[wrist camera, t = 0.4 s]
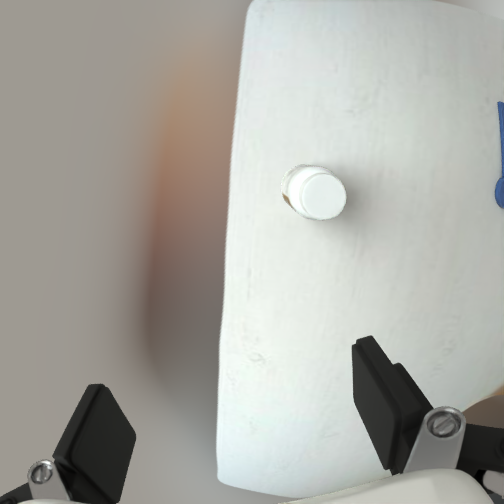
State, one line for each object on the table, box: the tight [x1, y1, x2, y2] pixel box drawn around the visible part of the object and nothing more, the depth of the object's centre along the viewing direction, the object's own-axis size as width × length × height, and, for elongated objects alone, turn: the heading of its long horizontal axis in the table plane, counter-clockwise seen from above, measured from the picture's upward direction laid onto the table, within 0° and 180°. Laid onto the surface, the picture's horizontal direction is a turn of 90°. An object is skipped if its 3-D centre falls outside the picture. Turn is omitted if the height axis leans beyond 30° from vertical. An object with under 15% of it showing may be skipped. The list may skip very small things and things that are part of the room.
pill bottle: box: [281, 165, 347, 220], centre depth 26 cm, size 4×4×8 cm
